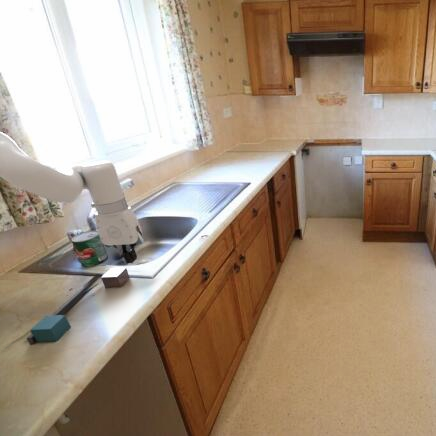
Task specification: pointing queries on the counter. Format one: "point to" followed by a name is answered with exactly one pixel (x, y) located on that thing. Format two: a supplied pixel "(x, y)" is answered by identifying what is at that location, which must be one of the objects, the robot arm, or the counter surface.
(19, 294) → the counter surface
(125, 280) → the walnut block
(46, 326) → the teal block
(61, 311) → the rail
